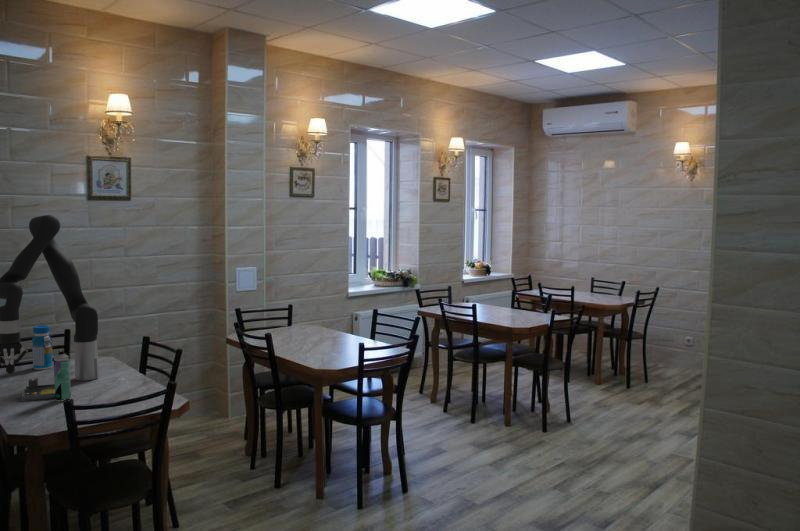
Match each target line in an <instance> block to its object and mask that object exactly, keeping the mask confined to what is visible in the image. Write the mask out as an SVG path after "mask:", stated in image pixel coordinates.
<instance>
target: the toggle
mask: <svg viewBox="0 0 800 531" xmlns="http://www.w3.org/2000/svg"><path fill="white" fill-rule="evenodd" d="M28 386H29V389H31V388H38V386H39V379H38V378H30V379H29V380H28Z"/></svg>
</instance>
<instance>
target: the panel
mask: <svg viewBox="0 0 800 531" xmlns="http://www.w3.org/2000/svg"><path fill="white" fill-rule="evenodd" d="M23 390H24V391H23V393H22V395H21V402H28V401H36V400H37V401H38V400H39V401H40V400H48V399H51V400H52V399H55V383H54V384H52V383H51V384H42V385H41V384H40V385H39V384H38V388H31V389H29V385H28V386H25V388H24V389H23Z"/></svg>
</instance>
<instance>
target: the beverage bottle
mask: <svg viewBox="0 0 800 531" xmlns="http://www.w3.org/2000/svg"><path fill="white" fill-rule="evenodd" d="M50 329H51V328H50V325H46V324H42V325H36V326H33V328H32V331H33V332H32V333H33V335H34V336H33V337H32V339H31V343H32V345H31V349H32V350H31V352H32V367H33V369H34V370H38V371H41V370H47V369H52V368H53V367H54V362H53V344H52V340H53V339H52V337H51V335H50V334H49V333H50V332H51V331H50Z"/></svg>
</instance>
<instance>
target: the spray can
mask: <svg viewBox="0 0 800 531" xmlns="http://www.w3.org/2000/svg"><path fill="white" fill-rule="evenodd" d="M70 365H71V364H70V356H69V354H68V355H67V354H66V353H65V351H64V350H63V349H59V350H58V352H57V354H56V355H55V356H54V357H53V374H54V375H53V376H54V384H55V398H54V399H55V402H57V403H63V402H62V400H63V401H64V399H70V400H72V399H71V398H72V394H71V392H72V391H71V371H70V370H71V369H70ZM60 401H61V402H60ZM64 402H65V401H64Z"/></svg>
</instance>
